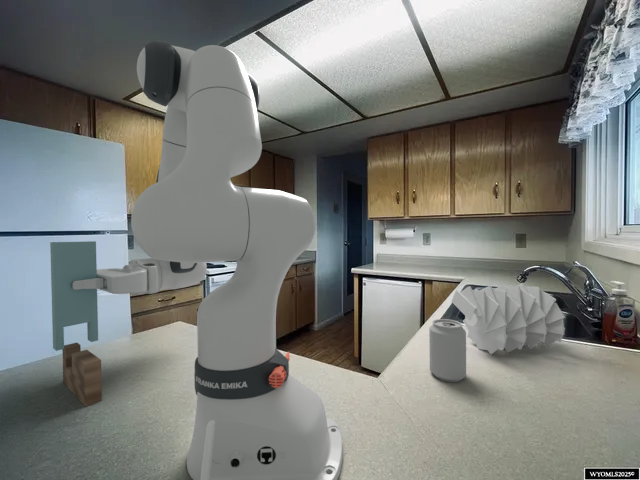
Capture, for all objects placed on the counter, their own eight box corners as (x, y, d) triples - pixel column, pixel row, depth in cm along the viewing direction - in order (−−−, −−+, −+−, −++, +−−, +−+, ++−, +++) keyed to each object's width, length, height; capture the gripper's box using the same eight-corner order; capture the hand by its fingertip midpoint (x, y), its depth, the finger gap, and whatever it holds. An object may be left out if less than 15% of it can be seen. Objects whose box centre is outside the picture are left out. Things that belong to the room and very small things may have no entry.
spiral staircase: (556, 362, 78) (482, 370, 72) (506, 319, 94) (441, 322, 87) (592, 310, 71) (513, 313, 64) (531, 272, 86) (462, 271, 80)
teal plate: (98, 340, 63) (96, 241, 63) (56, 350, 58) (53, 242, 57) (94, 338, 65) (92, 241, 64) (53, 348, 59) (50, 242, 59)
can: (470, 374, 64) (470, 321, 64) (459, 387, 59) (459, 329, 59) (437, 364, 69) (436, 315, 69) (424, 375, 64) (423, 322, 64)
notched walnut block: (101, 400, 56) (101, 359, 56) (85, 406, 54) (84, 364, 54) (77, 377, 65) (76, 342, 65) (63, 381, 63) (62, 345, 63)
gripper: (124, 261, 78) (56, 266, 66) (159, 266, 65) (83, 273, 54) (125, 284, 78) (57, 293, 67) (160, 293, 65) (84, 306, 54)
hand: (69, 284), depth 60 cm, fingers closed on teal plate, 2 cm apart
